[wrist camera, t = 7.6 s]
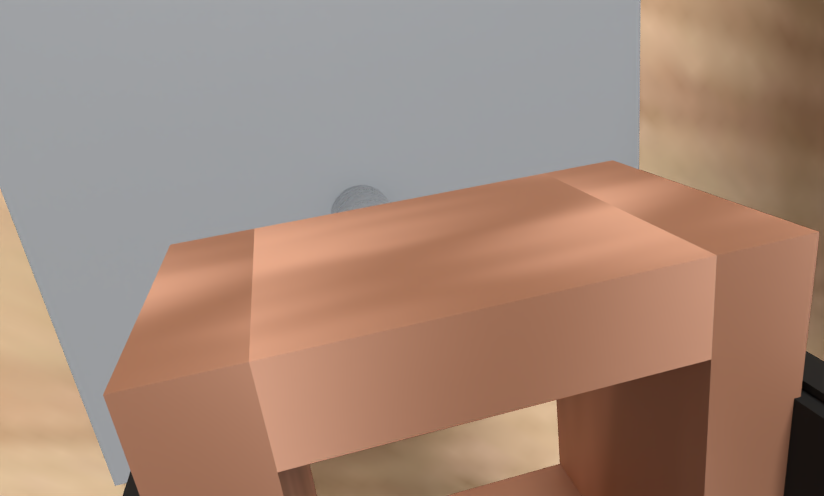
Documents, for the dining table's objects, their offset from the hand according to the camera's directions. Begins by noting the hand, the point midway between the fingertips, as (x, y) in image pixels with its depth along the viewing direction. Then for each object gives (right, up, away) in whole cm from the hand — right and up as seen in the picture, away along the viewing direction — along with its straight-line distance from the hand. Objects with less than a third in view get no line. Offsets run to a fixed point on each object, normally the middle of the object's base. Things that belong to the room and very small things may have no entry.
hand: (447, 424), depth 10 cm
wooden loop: (0, 0, +1) cm, 1 cm away
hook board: (-3, +4, +12) cm, 13 cm away
